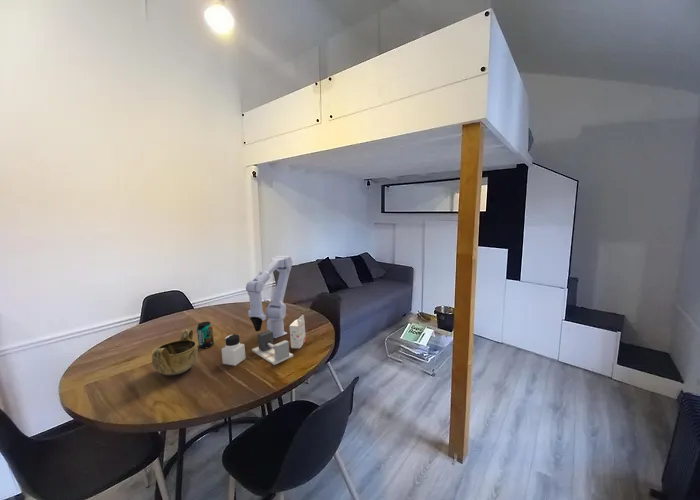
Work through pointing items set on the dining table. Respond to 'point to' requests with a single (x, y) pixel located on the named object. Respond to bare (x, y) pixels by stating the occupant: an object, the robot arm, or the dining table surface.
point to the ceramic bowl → (176, 355)
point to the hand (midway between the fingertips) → (258, 330)
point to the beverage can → (205, 334)
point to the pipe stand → (275, 352)
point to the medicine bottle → (233, 350)
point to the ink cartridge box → (297, 333)
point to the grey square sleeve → (265, 340)
